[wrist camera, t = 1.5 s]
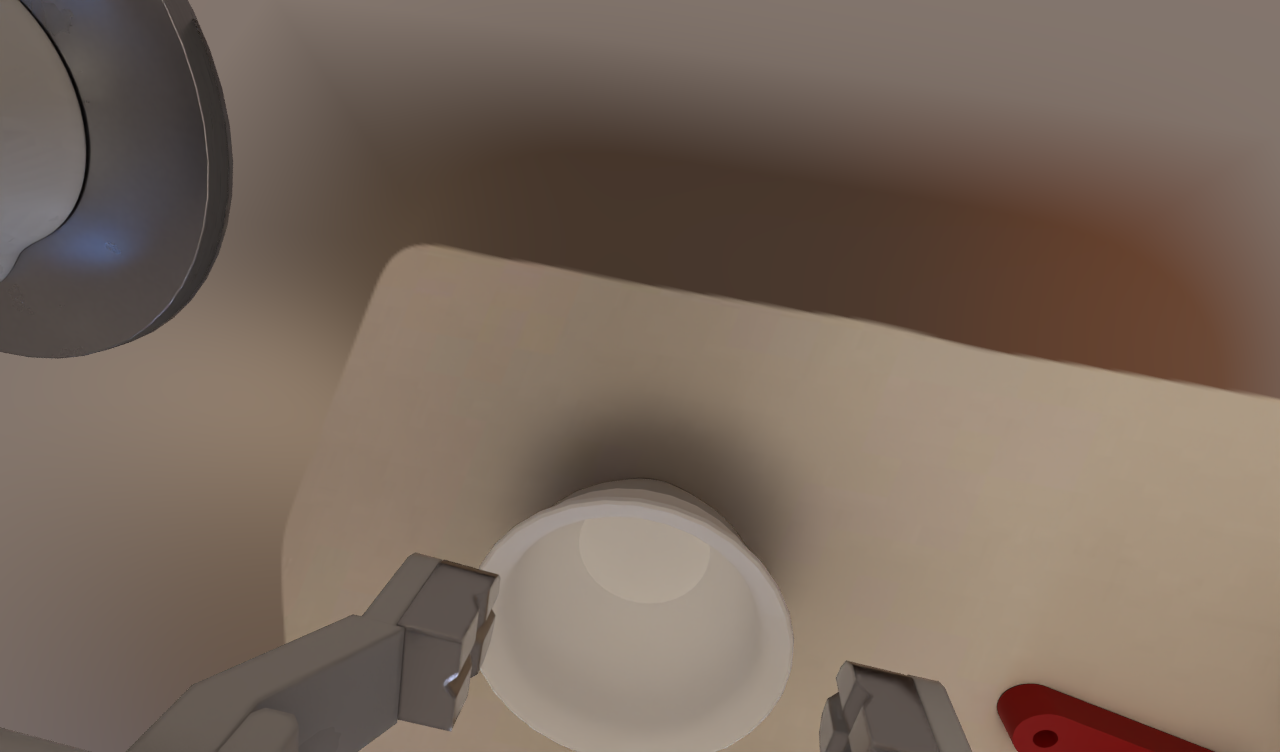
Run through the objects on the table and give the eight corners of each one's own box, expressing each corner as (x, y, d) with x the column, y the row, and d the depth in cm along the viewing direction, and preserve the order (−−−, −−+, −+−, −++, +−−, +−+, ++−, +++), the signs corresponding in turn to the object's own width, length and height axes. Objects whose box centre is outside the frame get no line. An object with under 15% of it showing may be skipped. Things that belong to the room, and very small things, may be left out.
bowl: (478, 456, 38) (413, 539, 30) (739, 391, 34) (745, 464, 26) (568, 663, 42) (533, 783, 34) (806, 623, 39) (828, 746, 31)
